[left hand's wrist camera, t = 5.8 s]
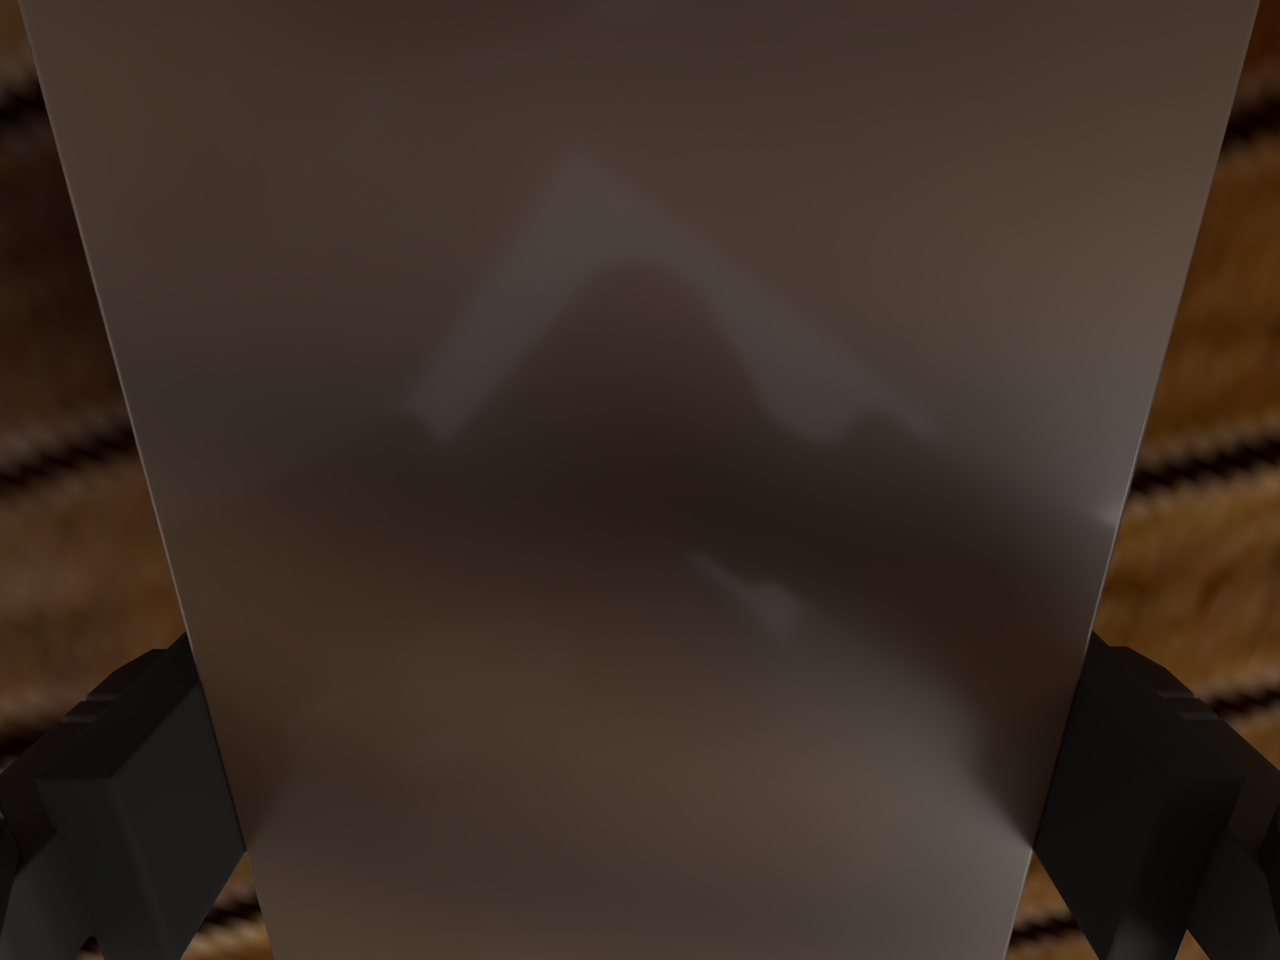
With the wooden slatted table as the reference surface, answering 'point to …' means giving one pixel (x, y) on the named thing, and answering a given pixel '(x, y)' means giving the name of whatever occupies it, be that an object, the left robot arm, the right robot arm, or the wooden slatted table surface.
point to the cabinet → (639, 438)
